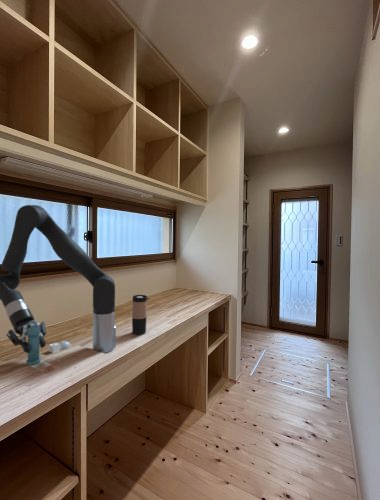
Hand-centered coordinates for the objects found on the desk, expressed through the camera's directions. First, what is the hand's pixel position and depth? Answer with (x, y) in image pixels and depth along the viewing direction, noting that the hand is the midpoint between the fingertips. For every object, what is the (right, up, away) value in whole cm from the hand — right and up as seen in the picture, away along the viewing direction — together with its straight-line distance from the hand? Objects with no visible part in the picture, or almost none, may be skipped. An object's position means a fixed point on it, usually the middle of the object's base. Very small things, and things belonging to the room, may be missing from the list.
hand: (36, 348), depth 98 cm
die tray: (+2, -8, +14) cm, 16 cm away
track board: (+3, -7, -1) cm, 8 cm away
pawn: (-2, -6, +1) cm, 6 cm away
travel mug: (+32, -7, +40) cm, 51 cm away
